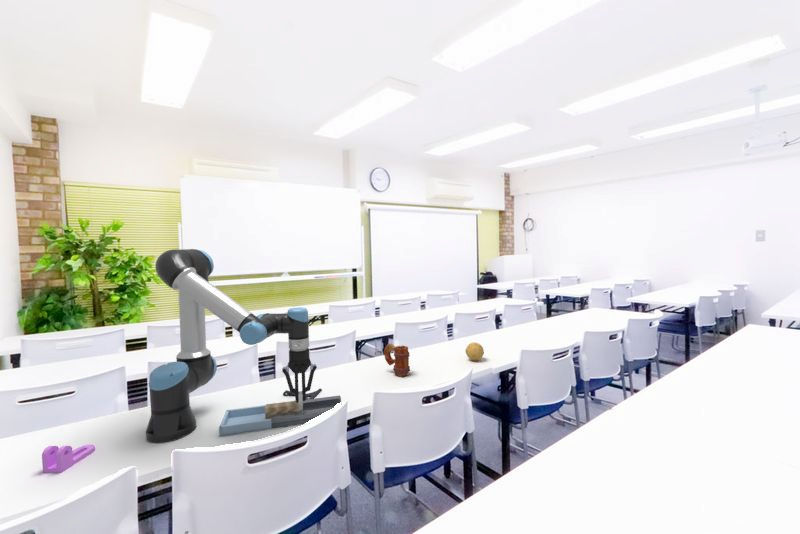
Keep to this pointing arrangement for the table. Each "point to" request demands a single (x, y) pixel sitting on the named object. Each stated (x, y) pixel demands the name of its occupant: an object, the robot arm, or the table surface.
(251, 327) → the robot arm
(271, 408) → the wooden cube
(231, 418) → the tray
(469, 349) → the stress ball
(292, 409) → the wooden cube
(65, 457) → the bracket
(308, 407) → the slot bed
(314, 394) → the bracket
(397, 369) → the mug
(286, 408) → the wooden cube
